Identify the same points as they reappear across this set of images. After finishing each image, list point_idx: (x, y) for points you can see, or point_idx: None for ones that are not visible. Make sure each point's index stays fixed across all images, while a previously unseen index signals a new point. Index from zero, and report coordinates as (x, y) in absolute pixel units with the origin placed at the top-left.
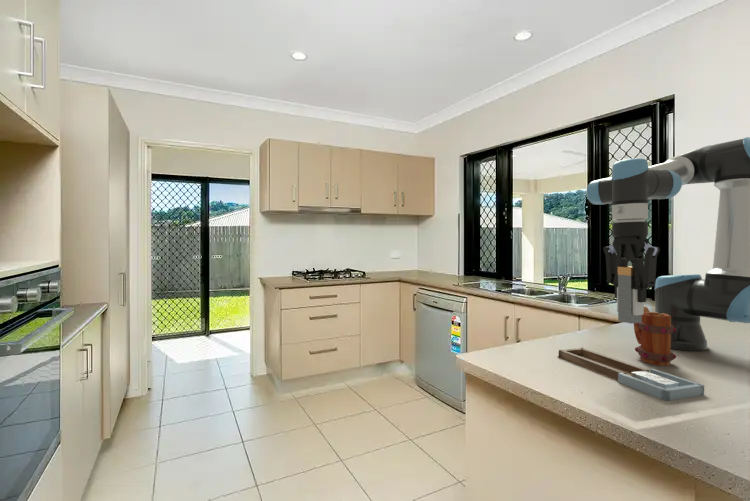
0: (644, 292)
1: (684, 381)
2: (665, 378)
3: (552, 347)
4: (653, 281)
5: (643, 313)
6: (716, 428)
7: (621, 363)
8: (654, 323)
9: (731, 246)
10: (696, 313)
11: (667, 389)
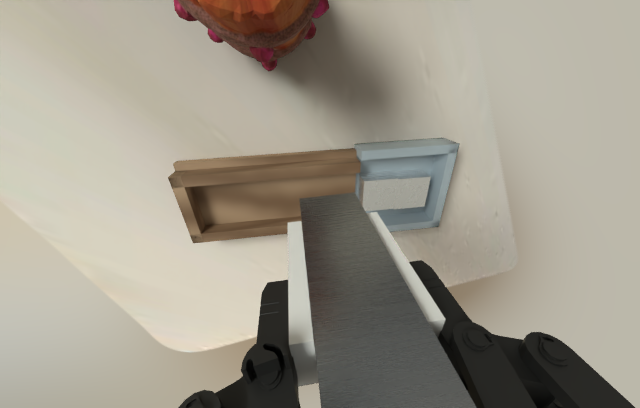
0: (455, 315)
1: (428, 154)
2: (407, 180)
3: (76, 182)
4: (596, 394)
5: (378, 215)
6: (485, 214)
7: (303, 176)
8: (285, 21)
9: None
10: None
11: (436, 220)
